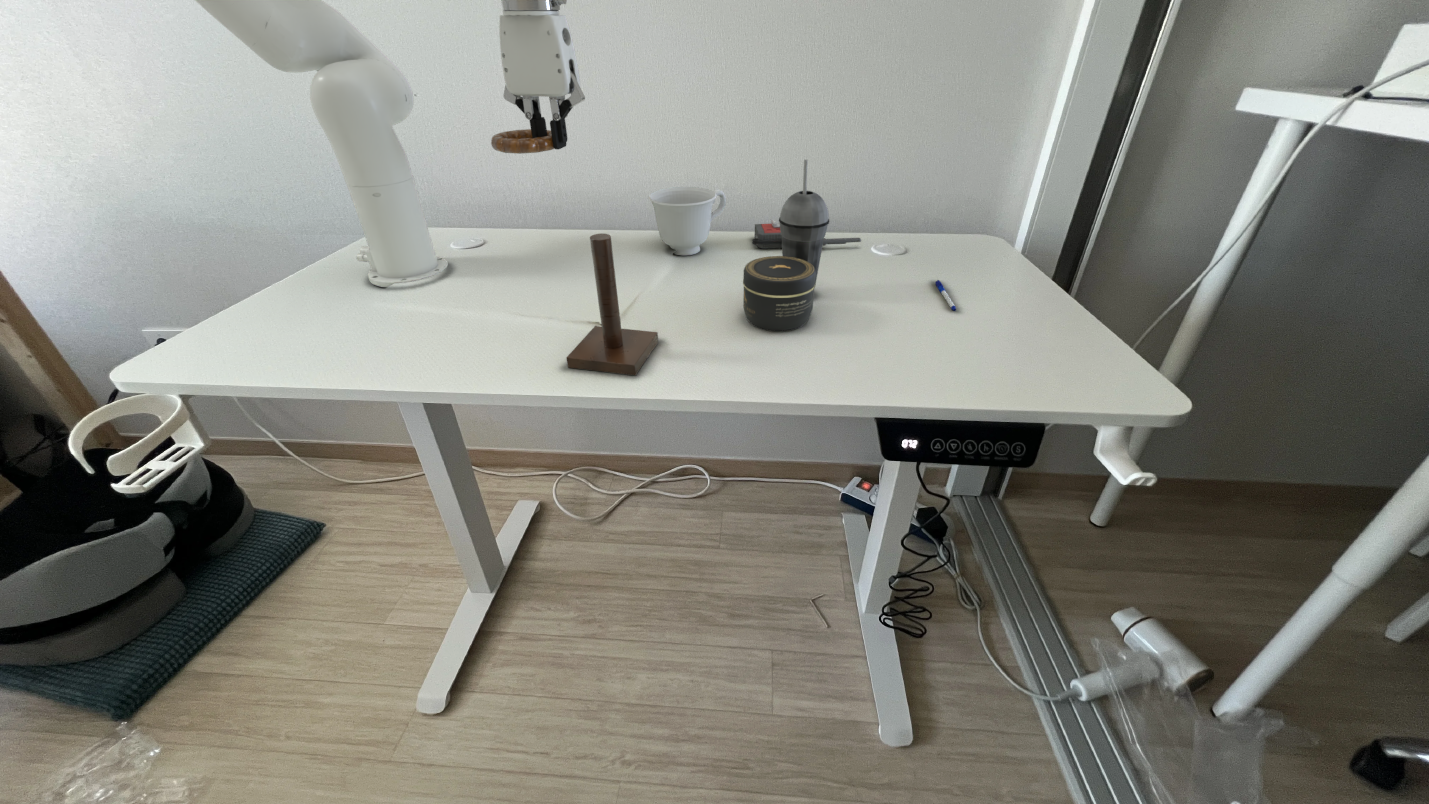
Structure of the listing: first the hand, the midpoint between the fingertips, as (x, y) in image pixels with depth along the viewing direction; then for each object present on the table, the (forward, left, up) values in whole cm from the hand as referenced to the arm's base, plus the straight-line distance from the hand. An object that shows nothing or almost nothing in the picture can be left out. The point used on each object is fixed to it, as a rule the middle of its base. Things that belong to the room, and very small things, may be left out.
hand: (551, 146), depth 90 cm
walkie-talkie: (+38, +21, -20) cm, 48 cm away
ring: (-4, 0, +1) cm, 4 cm away
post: (+19, -27, -20) cm, 38 cm away
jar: (+38, -12, -20) cm, 44 cm away
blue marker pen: (+62, +1, -20) cm, 65 cm away
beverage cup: (+40, -3, -20) cm, 45 cm away
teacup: (+18, +14, -20) cm, 30 cm away
